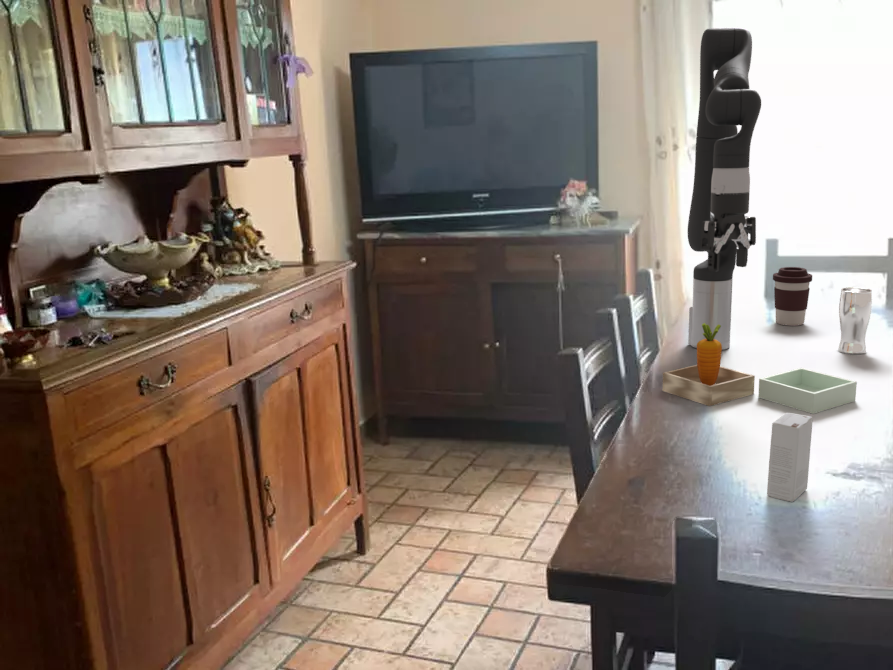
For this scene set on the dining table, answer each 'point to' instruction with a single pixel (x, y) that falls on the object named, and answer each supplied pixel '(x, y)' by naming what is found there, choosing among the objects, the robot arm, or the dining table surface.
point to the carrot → (709, 356)
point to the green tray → (807, 390)
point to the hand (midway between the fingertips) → (727, 268)
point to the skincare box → (789, 456)
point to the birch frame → (724, 389)
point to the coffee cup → (791, 295)
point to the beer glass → (854, 319)
